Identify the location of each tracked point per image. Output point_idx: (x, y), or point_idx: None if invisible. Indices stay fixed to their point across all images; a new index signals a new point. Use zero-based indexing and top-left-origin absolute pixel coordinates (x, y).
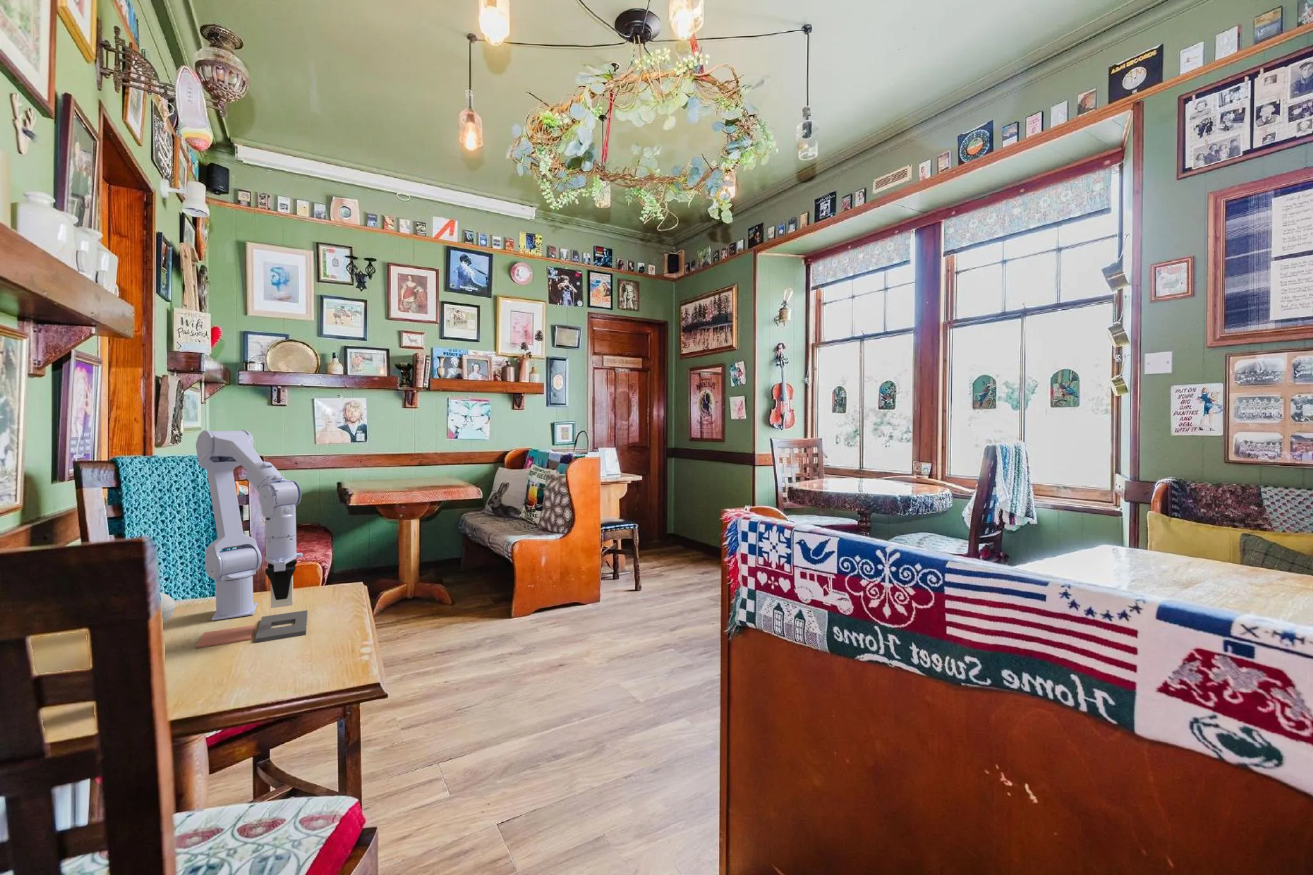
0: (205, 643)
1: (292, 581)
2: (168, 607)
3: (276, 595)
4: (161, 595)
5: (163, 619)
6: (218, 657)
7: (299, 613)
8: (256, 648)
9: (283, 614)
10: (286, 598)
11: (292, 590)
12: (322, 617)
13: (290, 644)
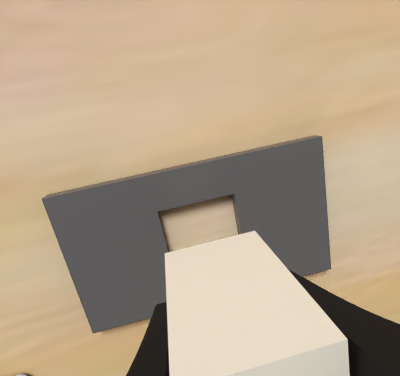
0: None
1: (250, 324)
2: None
3: None
4: None
5: None
6: (394, 305)
7: (86, 217)
8: (373, 242)
9: (84, 272)
10: (290, 271)
11: (254, 275)
12: (123, 120)
13: (387, 159)
